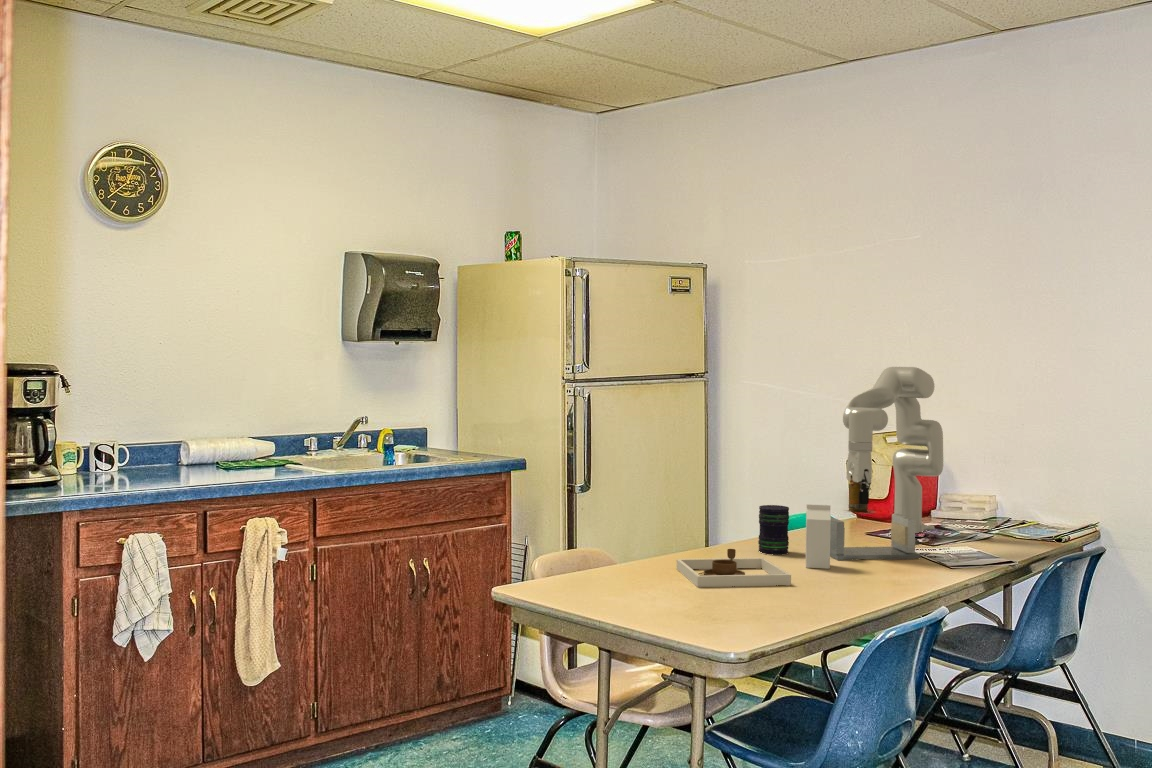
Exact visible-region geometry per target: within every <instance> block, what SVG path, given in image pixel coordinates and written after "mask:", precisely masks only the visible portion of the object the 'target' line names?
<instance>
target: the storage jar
mask: <svg viewBox="0 0 1152 768" xmlns="http://www.w3.org/2000/svg"><path fill="white" fill-rule="evenodd" d="M758 507H759V508H758V509H759V511H758V523H759V535H758V541H757V542H758V552H759V551H760V552H762V553H766V554H765V555H767V554H773V555H772V556H783V555H782V554H785V555H788V554H789V544H790V542H789V539H790V538H789V524H790V520H789V519H790V512H789V510H790V508H789V506H785V505H777V504H767V505H765V504H763V505H760V506H758ZM762 553H761V554H762ZM787 553H788V554H787Z"/></svg>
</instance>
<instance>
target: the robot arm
mask: <svg viewBox="0 0 1152 768" xmlns="http://www.w3.org/2000/svg"><path fill="white" fill-rule="evenodd" d="M934 391H935V380H934V378H933V377H932V375H930V374H929V373H928V372H926V371H925V370H923V369H922V368H919V367H916V366H890V367H886V368H884V369H883V370H882V372H881V373H880V375H879V377H878V378H877V380H876V381H875V383H874V385H873V387H872V388H871V389H868V390H866V391H863V392H862V393H859V394H857V395H855V396H854V397H852V398H851V399H850V401H849V402H848V404H847V405H846V407H845V409H844V411H843V415H842V423H843V425H844V426H845V428H846V429H848V449H847V450H848V454H847V455H848V456H847V463H846V479H847V481H849V482H850V479H851V477H850V476H851V475H852V476H853V477H852V480H853V482H855V483H859V487H860V492H859V504H868V505H869V503H870V500H869V499H870V487H871V484H872V478H873V477H872V476H873V475H872V474H873V473H872V472H873V469H872V467H873V465H872V464H873V463H872V453H873V433H874V432H879V431H880V432H881V431H883V430H884V429H885V428H886V427H887V426H888V423H889V417H888V413H887V412H886V411H885V410H884V409H885V408H889V407H890V406H892V405H893V404H894V407H895V423H896V425H895V429H896V430H895V431H896V432H895V433H896V440H897V442H898V443H899V444H901V445H904V446H913V447H914V446H915V447H916V446H917V447H926V448H927V449H920V448H899V449H897V450H896V451H894V453H893V455H892V468H893V474H894V507H893V508H894V510H893V511H894V513H893V514H901V515H904V516H907V517H910V518H913V519H916V524H915V533H919V532H922V531H924V532H926V531H928V532H929V531H932V532H933V531H935V529H936V528H935V526H934V525H933V524H932V525H930V524H929V525H928V524H925V523H922V521H923V518H922V517H923V513H922V512H923V487H922V484H921V482H920V481H919V479H918V476H919V477H920V476H921V477H938V476H940V475H941V474H942V473H943V470H944V435H943V434H944V432H943V428H942V425H941V423H940V422H939V421H938V420H934V419H923V418H922V416H921V405H920V402H919V400H918V399H928V398H931V396H932V395H933V394H934ZM861 481H866V482H861ZM862 484H864V485H863V486H862ZM890 533H891V530H889V534H890Z"/></svg>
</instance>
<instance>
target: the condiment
mask: <svg viewBox="0 0 1152 768" xmlns="http://www.w3.org/2000/svg"><path fill="white" fill-rule="evenodd" d="M850 477H851V479H850V481H849V482H848V504H847V505H848V509H843V512H849V513H857V514H874V513H876V511H874V510H868V508H869V507H868V506H869V504H859V492H860V487H859V483H855V482H853V480H852V477H853V476H852V475H851V476H850ZM861 482H866V481H861ZM863 485H864V484H862V486H863Z"/></svg>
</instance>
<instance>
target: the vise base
mask: <svg viewBox="0 0 1152 768" xmlns="http://www.w3.org/2000/svg"><path fill="white" fill-rule="evenodd" d="M845 529H846V527H845V522H844V521H843V520H840V519H838V518H835V517H832V516H831V526H830V558H833V559H834V560H836V561H857V560H856V559H886V560H914V559H913V558H921V557H922V556H921V555H922V554H921V553H919V552H916V551H915V553H906V552H904V551H902V550H899V549H897V548H894V547H892V546H853V547H852V546H848V547H847V546H845V542H846V541H845V540H846V539H845V533H846V532H845ZM852 559H853V560H852Z"/></svg>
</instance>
